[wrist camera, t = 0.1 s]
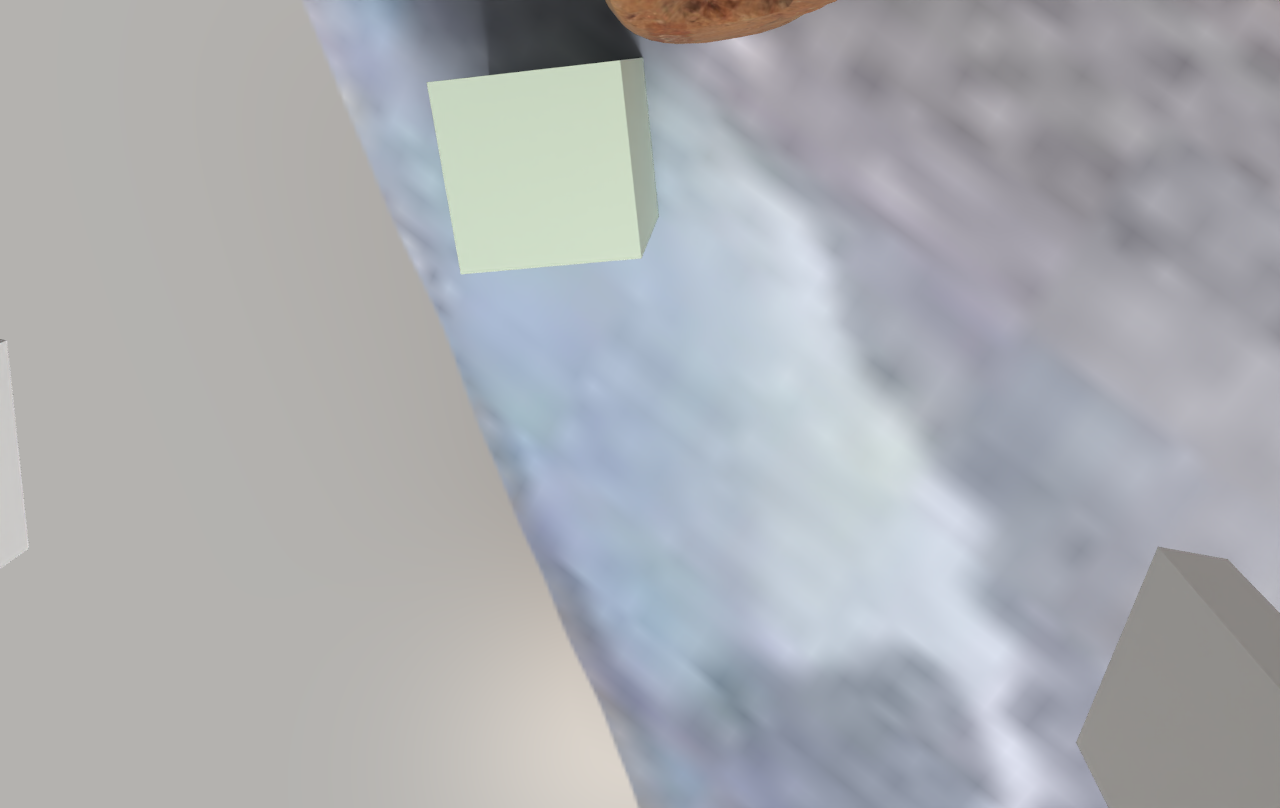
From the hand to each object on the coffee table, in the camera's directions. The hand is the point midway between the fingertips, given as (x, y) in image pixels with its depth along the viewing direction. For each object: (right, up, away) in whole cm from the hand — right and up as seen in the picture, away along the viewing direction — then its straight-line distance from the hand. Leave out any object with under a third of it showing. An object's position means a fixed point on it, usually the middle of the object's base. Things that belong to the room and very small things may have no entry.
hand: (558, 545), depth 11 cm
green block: (-2, +12, +26) cm, 28 cm away
